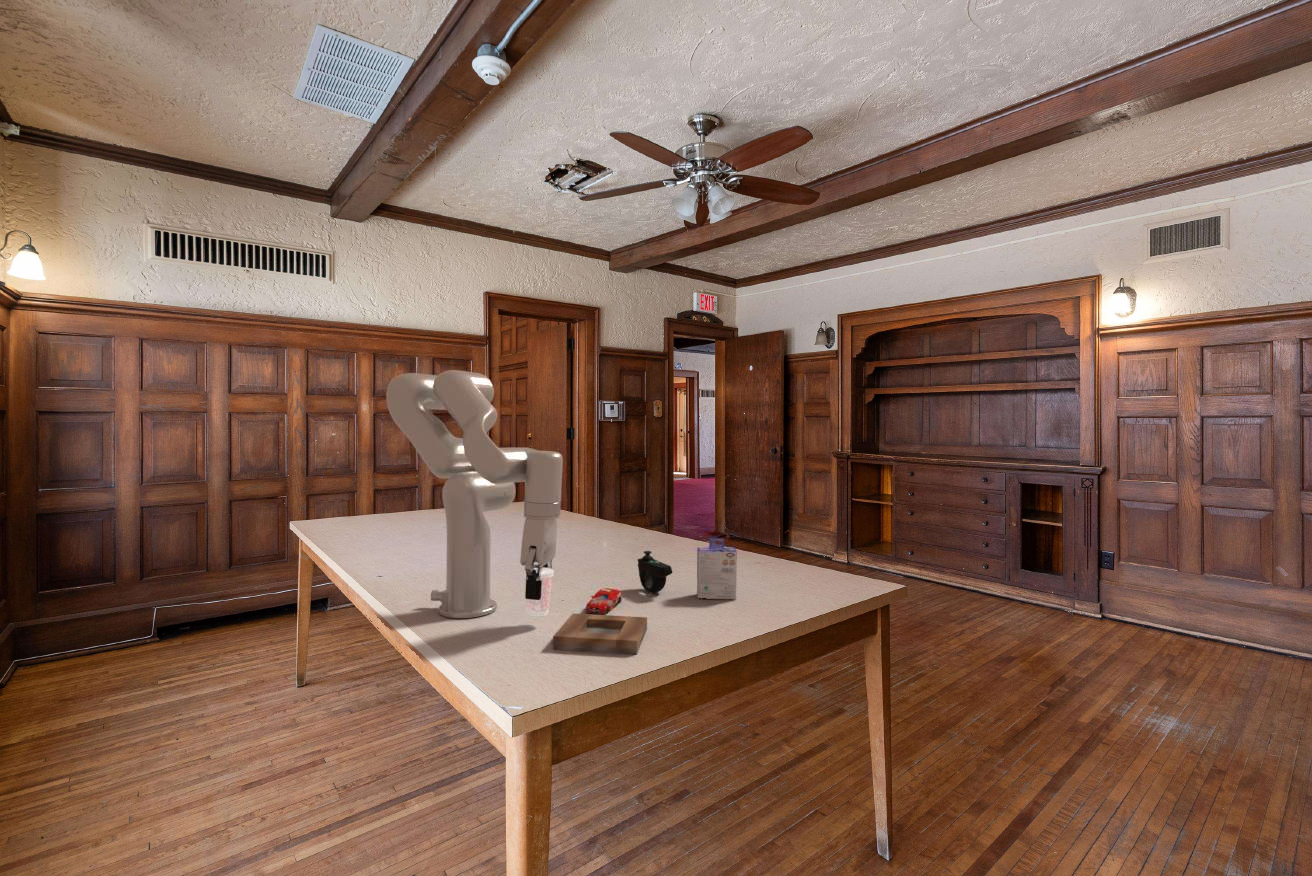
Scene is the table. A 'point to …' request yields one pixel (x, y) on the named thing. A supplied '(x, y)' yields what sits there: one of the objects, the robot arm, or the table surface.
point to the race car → (604, 601)
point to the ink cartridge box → (716, 571)
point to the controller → (652, 573)
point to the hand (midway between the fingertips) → (538, 593)
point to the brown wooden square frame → (601, 633)
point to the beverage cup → (541, 605)
